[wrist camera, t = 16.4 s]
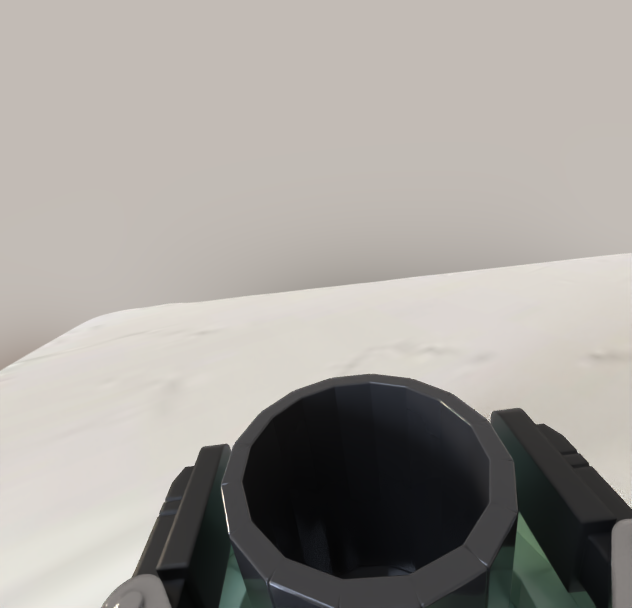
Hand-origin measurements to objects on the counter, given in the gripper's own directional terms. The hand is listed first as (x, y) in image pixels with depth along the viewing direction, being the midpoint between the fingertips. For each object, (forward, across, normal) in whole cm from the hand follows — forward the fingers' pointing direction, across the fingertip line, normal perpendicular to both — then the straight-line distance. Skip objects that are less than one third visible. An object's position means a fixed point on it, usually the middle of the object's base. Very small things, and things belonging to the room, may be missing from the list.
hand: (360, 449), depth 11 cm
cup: (-2, 0, +7) cm, 7 cm away
